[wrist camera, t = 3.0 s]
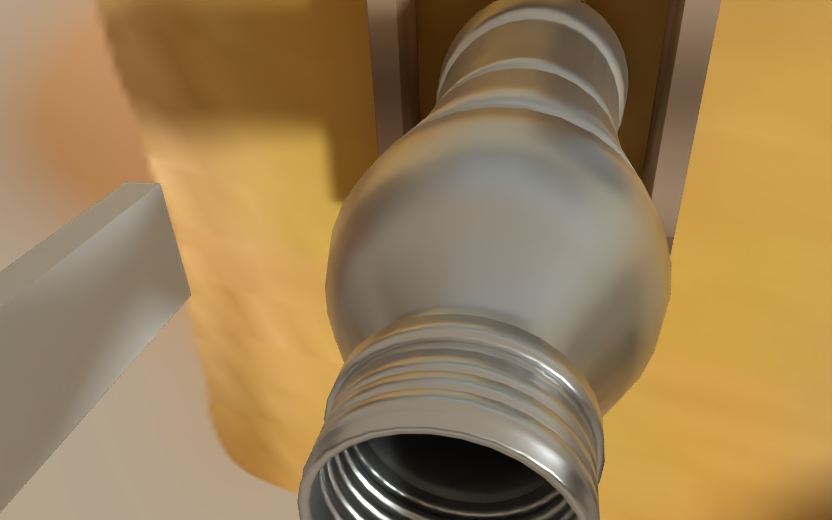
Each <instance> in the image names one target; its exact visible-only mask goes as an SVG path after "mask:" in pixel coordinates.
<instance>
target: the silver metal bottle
mask: <svg viewBox="0 0 832 520" xmlns="http://www.w3.org/2000/svg"><path fill="white" fill-rule="evenodd" d="M627 93H628V68H627V63H626V59H625V54H624V50H623V48H622V46H621V44H620V42H619V39H618V37H617V35H616V33H615V32H614V30H613V29H612V28H611V26H610V25H609V24H608V23H607V21H606V20H605V19H604V17H602V16H601V15H600V14H599V13H598V12H596V11H595V10H594V9H593V8H592V7H590V6H589V5H588V4H586V3H584V2H582V1H580V0H497V1H495V2H492V3H491V4H489V5H488V6H486V7H485V8H484V9H482V10H481V11H479V12H478V13H476V14H475V15H474V16H473V17H472V18H471V19H470V20H469V21H468V22H467V23H466V24H465V25H464V26H463V27H462V28H461V30H460V31H459V33H458V34H457V35H456V37H455V38H454V40H453V41H452V43H451V44H450V47H449V49H448V51H447V54H446V56H445V58H444V61H443V64H442V68H441V73H440V78H439V82H438V87H437V92H436V105H435V107H434V108H433V110H432V111H431V112H430V113H429V115H428V116H427V117H426V118H425V119H424V120H422V121H421V122H420V123H419V124H417V125H416V126H415V127H414V128H412V129H411V130H410V131H409V132H407V133H406V134H405V135H404V136H402V137H401V138H400V139H398V140H397V141H396V142H395V143H394V144H392V145H391V146H390V147H389V148H388V149H387V150H386V151H385V152H384V153H383V154H382V155H381V156H380V157H379V158H378V159H377V160H376V161H375V162H374V163H373V164H372V165H371V166H370V168H369V169H368V170H367V171H366V172H365V173H364V174H363V175H362V176H361V177H360V178H359V180H358V181H357V183H356V184H355V186H354V187H353V189H352V190H351V192H350V193H349V195H348V196H347V198H346V199H345V201H344V202H343V204H342V207H341V209H340V212H339V214H338V217H337V220H336V222H335V225H334V227H333V230H332V236H331V243H330V250H329V257H328V265H327V274H326V283H325V292H326V304H327V314H328V317H329V320H330V324H331V327H332V330H333V334H334V337H335V340H336V343H337V345H338V348H339V351H340V353H341V356H342V359H343V361H344V365H343V367H342V369H341V371H340V373H339V375H338V378H337V380H336V382H335V384H334V386H333V388H332V390H331V393H330V395H329V397H328V399H327V404H326V410H325V416H324V422H325V423H324V425H323V427H322V430H321V432H320V434H319V436H318V438H317V440H316V443H315V445H314V447H313V449H312V452H311V454H310V456H309V458H308V460H307V462H306V464H305V466H304V468H303V475H302V480H301V482H300V488H299V495H298V509H299V516H300V520H600V516H599V498H598V484H599V482H600V478H601V474H602V470H603V466H604V462H605V458H604V436H603V419H602V417H603V416H604V415H605V414H606V413H607V412H608V411H609V410H610V409H611V408H612V407H613V406H614V405H615V404H616V403H617V402H618V401H619V400H620V399H621V398H622V397H623V396H624V395H625V394H626V393H627V391H628V390H629V389H630V388H631V387H632V386H633V385H634V383H635V382H636V381H637V380H638V379H639V378H640V376H641V375H642V373H643V371H644V369H645V367H646V366H647V364H648V362H649V360H650V358H651V356H652V355H653V353H654V350H655V347H656V344H657V340H658V337H659V334H660V331H661V327H662V324H663V321H664V317H665V313H666V310H667V306H668V302H669V299H670V295H671V259H670V254H669V250H668V245H667V241H666V236H665V232H664V229H663V227H662V225H661V222H660V220H659V217H658V214H657V211H656V209H655V207H654V205H653V203H652V200H651V198H650V196H649V194H648V192H647V190H646V188H645V186H644V184H643V182H642V180H641V179H640V178H639V177H638V175H637V173H636V171H635V170H634V168H633V166H632V165H631V163H630V162H629V160H628V158H627V157H626V155H625V154H624V152H623V150H622V149H621V145H620V142H619V139H618V130H619V127H620V125H621V122H622V119H623V114H624V109H625V104H626V99H627Z"/></svg>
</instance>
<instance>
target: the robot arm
mask: <svg viewBox="0 0 832 520" xmlns="http://www.w3.org/2000/svg"><path fill="white" fill-rule="evenodd" d="M190 296H191V292H190V288H189V285H188V281H187V278H186V274H185V271H184V267H183V263H182V260H181V256H180V253H179V249H178V246H177V242H176V239H175V235H174V231H173V228H172V224H171V221H170V217H169V214H168V210H167V207H166V203H165V199H164V196H163V192H162V189H161V185H160V183H145V182H125V183H124V184H122V185H121V186H119V187H118V188H117V189H116V190H114V191H112V192H111V193H110V194H108V195H107V196H106V197H104V198H103V199H101V200H100V201H99V202H97V203H96V204H94V205H93V206H92V207H90V208H89V209H88V210H86V211H85V212H83V213H82V214H80V215H79V216H78V217H76V218H75V219H73V220H72V221H71V222H69V223H68V224H67V225H65V226H64V227H62V228H61V229H60V230H58V231H57V232H56V233H54V234H53V235H51V236H50V237H48V238H47V239H46V240H44V241H43V242H41V243H40V244H39V245H37V246H36V247H35V248H33V249H32V250H30V251H29V252H27V253H26V254H25V255H23V256H22V257H20V258H19V259H18V260H16V261H15V262H13V263H12V264H11V265H9V266H8V267H6V268H5V269H4V270H2V271H1V272H0V513H1V511H2V510H3V509H4V508H5V507H6V506H7V505H8V503H9V502H10V501H11V500H12V499H13V498H14V496H15V495H16V494H17V493H18V492H19V491H20V490H21V488H22V487H23V486H24V485H25V484H26V483H27V482H28V481H29V479H30V478H31V477H32V476H33V475H34V474H35V473H36V471H37V470H38V469H39V468H40V467H41V466H42V465H43V463H44V462H45V461H46V460H47V459H48V458H49V457H50V456H51V454H52V453H53V452H54V451H55V450H56V449H57V448H58V446H59V445H60V444H61V443H62V442H63V441H64V440H65V438H66V437H67V436H68V435H69V434H70V432H71V431H72V430H73V429H74V428H75V427H76V426H77V425H78V423H79V422H80V421H81V420H82V419H83V418H84V417H85V416H86V414H87V413H88V412H89V411H90V410H91V409H92V407H93V406H94V405H95V404H96V403H97V402H98V401H99V399H100V398H101V397H102V396H103V395H104V394H105V393H106V392H107V390H108V389H109V388H110V387H111V386H112V385H113V384H114V382H115V381H116V380H117V379H118V378H119V377H120V376H121V374H122V373H123V372H124V371H125V370H126V369H127V367H128V366H129V365H130V364H131V363H132V362H133V361H134V360H135V358H136V357H137V356H138V355H139V354H140V353H141V352H142V350H143V349H144V348H145V347H146V346H147V345H148V344H149V342H150V341H151V340H152V339H153V338H154V337H155V336H156V334H157V333H158V332H159V331H160V330H161V329H162V328H163V326H164V325H165V324H166V323H167V322H168V321H169V320H170V318H171V317H172V316H173V315H174V314H175V313H176V312H177V310H178V309H179V308H180V307H181V306H182V305H183V304H184V302H185V301H186V300H187V299H188V298H189V297H190Z"/></svg>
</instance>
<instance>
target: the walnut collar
mask: <svg viewBox="0 0 832 520" xmlns="http://www.w3.org/2000/svg"><path fill="white" fill-rule="evenodd" d="M720 3H721V0H670V4H669V10H668V17H667V23H666V29H665V36H664V42H663V48H662V54H661V61H660V67H659V73H658V79H657V86H656V92H655V98H654V105H653V111H652V117H651V123H650V130H649V136H648V142H647V148H646V155H645V161H644V167H643V174H642V182H643V184H644V186H645V188H646V190H647V192H648V194H649V196H650V198H651V200H652V203H653V205H654V207H655V209H656V211H657V214H658V217H659V220H660V222H661V225H662V227H663V229H664V232H665V236H666V241H667V245H668V250H669V254H670V255H671V249H672V244H673V239H674V234H675V229H676V224H677V219H678V214H679V209H680V204H681V199H682V194H683V189H684V184H685V179H686V174H687V169H688V164H689V159H690V154H691V149H692V144H693V139H694V134H695V129H696V124H697V119H698V114H699V109H700V104H701V98H702V93H703V88H704V83H705V78H706V73H707V68H708V63H709V58H710V53H711V48H712V43H713V38H714V33H715V28H716V23H717V18H718V13H719V8H720ZM367 9H368V22H369V35H370V49H371V62H372V75H373V89H374V102H375V115H376V129H377V142H378V155H379V157H380V156H381V155H382V154H383V153H384V152H385V151H386V150H387V149H388V148H389V147H390V146H391V145H392V144H394V143H395V142H396V141H397V140H398V139H400V138H401V137H402V136H404V135H405V134H406V133H407V132H409V131H410V130H411V129H412V128H414V127H415V126H416V125H417V124H419V123H420V102H419V75H418V48H417V22H416V0H367Z"/></svg>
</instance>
